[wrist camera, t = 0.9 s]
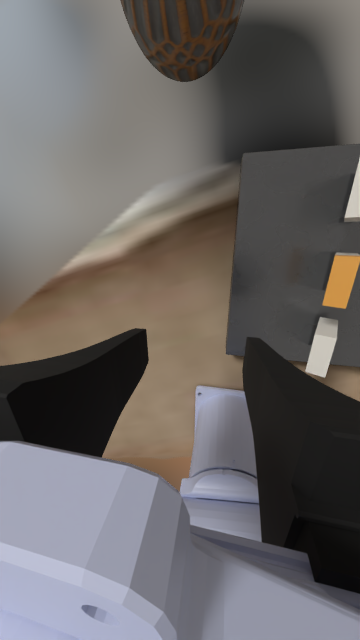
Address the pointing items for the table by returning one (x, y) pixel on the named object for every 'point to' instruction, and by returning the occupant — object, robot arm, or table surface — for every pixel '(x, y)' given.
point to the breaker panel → (293, 251)
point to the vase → (183, 33)
